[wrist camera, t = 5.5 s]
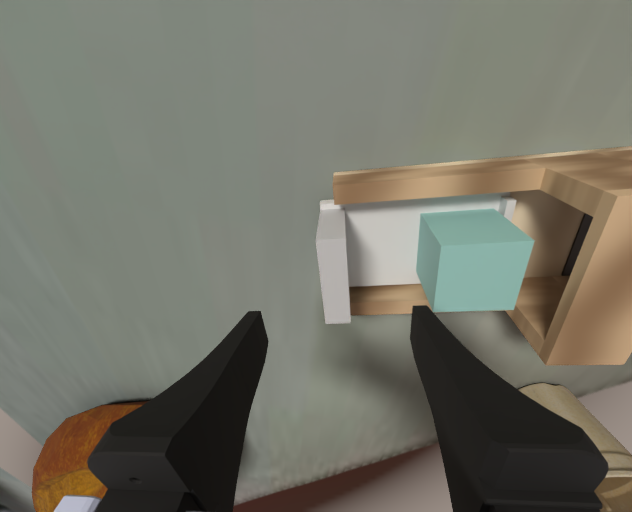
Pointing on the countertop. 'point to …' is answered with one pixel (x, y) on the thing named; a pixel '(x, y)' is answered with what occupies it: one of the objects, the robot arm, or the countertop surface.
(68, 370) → the countertop surface
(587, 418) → the flower pot
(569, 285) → the wooden frame
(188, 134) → the countertop surface
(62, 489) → the bread
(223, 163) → the countertop surface
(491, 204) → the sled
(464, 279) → the block
